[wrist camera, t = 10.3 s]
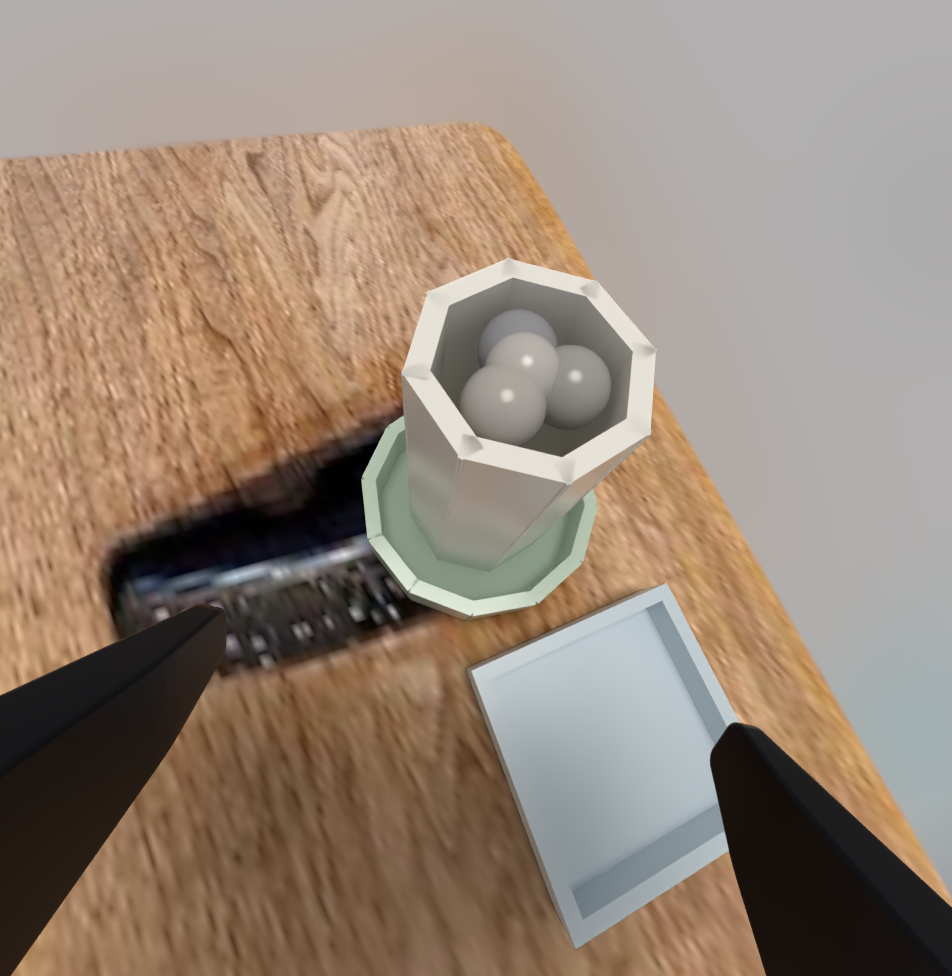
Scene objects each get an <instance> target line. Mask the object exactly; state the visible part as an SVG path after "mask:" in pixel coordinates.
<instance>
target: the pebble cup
mask: <svg viewBox="0 0 952 976" xmlns="http://www.w3.org/2000/svg"><path fill="white" fill-rule="evenodd" d="M656 352H657V350H656V348H655V347H653V346H652V345H651V343H650V342H649V341H648V340H647V339H646V337H645V336H644V335H643V334H642V333H641V332H640V331H639V329H638V328H637V327H636V326H635V325H634V324H633V322H632V321H631V320H630V319H629V318H628V317H627V315H626V314H625V313H624V312H623V311H622V310H621V309H620V307H619V306H618V305H617V304H616V303H615V302H614V300H613V299H612V298H611V297H610V296H609V295H608V293H607V292H606V291H605V290H604V289H603V288H602V287H601V285H600V284H599V282H597V281H596V280H595V281H593V280H589V279H585V278H582V277H578V276H574V275H570V274H566V273H562V272H558V271H554V270H550V269H547V268H543V267H539V266H535V265H531V264H527V263H523V262H519V261H516V260H512V259H510V258H506V259H505V260H503V261H501V262H498V263H496V264H493V265H491V266H489V267H486V268H484V269H482V270H479V271H477V272H474V273H472V274H470V275H467V276H465V277H462V278H460V279H458V280H455V281H453V282H450V283H448V284H446V285H443V286H441V287H439V288H436V289H434V290H431V291H430V290H428V292H427V293H426V300H425V303H424V306H423V309H422V312H421V315H420V319H419V322H418V325H417V328H416V331H415V334H414V338H413V341H412V344H411V347H410V350H409V353H408V357H407V360H406V363H405V366H404V369H403V370H402V371H401V378H402V393H403V408H404V423H405V438H406V453H407V468H408V483H409V499H410V514H411V518H412V519H413V520H414V522H415V524H416V525H417V527H418V528H419V530H420V532H421V533H422V535H423V536H424V538H425V540H426V541H427V543H428V544H429V546H430V548H431V549H432V551H433V552H434V554H435V556H436V557H437V560H439V561H444V562H448V563H453V564H457V565H462V566H466V567H470V568H475V569H479V570H484V571H488V572H491V571H492V570H493V569H495V568H496V567H498V566H499V565H501V564H502V563H504V562H505V561H507V560H508V559H510V558H512V557H513V556H515V555H516V554H518V553H519V552H521V551H522V550H524V549H525V548H527V547H528V546H531V545H532V544H533V543H535V542H536V541H537V540H538V539H539V538H540V537H541V536H542V535H543V534H544V533H545V532H546V531H548V530H549V529H550V528H551V527H552V526H553V525H554V524H555V523H556V522H557V521H558V520H559V519H560V518H562V517H563V516H564V515H565V514H566V513H567V512H568V511H569V510H570V509H571V508H572V507H573V506H575V505H576V504H577V503H578V502H579V501H580V500H581V499H582V498H583V497H584V496H585V495H586V494H587V493H589V492H590V491H591V490H592V489H593V488H594V487H595V486H596V485H597V484H598V483H599V482H600V481H602V480H603V479H604V478H605V477H606V476H607V475H608V474H609V473H610V472H611V471H612V470H613V469H615V468H616V467H617V466H618V465H619V464H620V463H621V462H622V461H623V460H624V459H625V458H626V457H627V456H629V455H630V454H631V453H632V452H633V451H634V450H635V449H636V448H637V447H638V446H639V445H640V444H642V443H643V442H644V441H645V440H646V439H647V438H648V437H649V436H650V434H651V433H652V432H651V431H650V429H651V414H652V399H653V385H654V370H655V355H656Z"/></svg>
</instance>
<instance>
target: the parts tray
mask: <svg viewBox="0 0 952 976" xmlns="http://www.w3.org/2000/svg"><path fill="white" fill-rule="evenodd" d="M465 669H466V671H467V674H468V677H469V680H470V682H471V685H472V688H473V690H474V693H475V696H476V698H477V701H478V704H479V706H480V709H481V712H482V715H483V717H484V720H485V723H486V725H487V728H488V731H489V733H490V736H491V739H492V741H493V744H494V747H495V750H496V752H497V755H498V758H499V760H500V763H501V766H502V768H503V771H504V774H505V776H506V779H507V782H508V785H509V787H510V790H511V793H512V795H513V798H514V801H515V803H516V806H517V809H518V812H519V814H520V817H521V820H522V822H523V825H524V828H525V830H526V833H527V836H528V838H529V841H530V844H531V847H532V849H533V852H534V855H535V857H536V860H537V863H538V865H539V868H540V871H541V873H542V876H543V879H544V882H545V884H546V887H547V890H548V892H549V895H550V898H551V900H552V903H553V906H554V908H555V911H556V913H557V915H558V917H559V918H560V920H561V922H562V924H563V926H564V928H565V930H566V932H567V934H568V936H569V938H570V940H571V942H572V943H573V945H574V947H575V949H577V948H579V947H580V946H582V945H584V944H585V943H587V942H588V941H590V940H591V939H593V938H594V937H596V936H597V935H599V934H601V933H602V932H604V931H605V930H607V929H608V928H610V927H611V926H613V925H614V924H616V923H618V922H619V921H621V920H622V919H624V918H625V917H627V916H628V915H630V914H631V913H633V912H635V911H636V910H638V909H639V908H641V907H642V906H644V905H645V904H647V903H648V902H650V901H652V900H653V899H655V898H656V897H658V896H659V895H661V894H662V893H664V892H665V891H667V890H669V889H670V888H672V887H673V886H675V885H676V884H678V883H679V882H681V881H682V880H684V879H686V878H687V877H689V876H690V875H692V874H693V873H695V872H696V871H698V870H699V869H701V868H703V867H704V866H706V865H707V864H709V863H710V862H712V861H713V860H715V859H716V858H718V857H720V856H721V855H723V854H724V853H726V852H727V851H729V849H728V845H727V840H726V836H725V831H724V827H723V822H722V817H721V813H720V808H719V804H718V799H717V795H716V790H715V786H714V781H713V777H712V772H711V767H710V754H711V750H712V749H713V747H714V746H715V744H716V743H717V741H718V740H719V738H720V737H721V735H722V734H723V732H724V731H725V729H726V728H727V726H728V725H729V724H731V723H733V722H738V723H740V722H739V720H738V718H737V717H736V715H735V713H734V711H733V709H732V707H731V705H730V703H729V701H728V699H727V697H726V696H725V694H724V692H723V690H722V688H721V686H720V684H719V682H718V680H717V678H716V676H715V675H714V673H713V671H712V669H711V667H710V665H709V663H708V661H707V659H706V657H705V655H704V653H703V652H702V650H701V648H700V646H699V644H698V642H697V640H696V638H695V636H694V634H693V632H692V631H691V629H690V627H689V625H688V623H687V621H686V619H685V617H684V615H683V613H682V611H681V610H680V608H679V606H678V604H677V602H676V600H675V598H674V596H673V594H672V592H671V590H670V589H669V587H668V585H667V583H664V584H661V585H657V586H653V587H649V588H646V589H642V590H639V591H637V592H635V593H633V594H630V595H628V596H626V597H624V598H621V599H619V600H617V601H615V602H612V603H610V604H608V605H606V606H604V607H601V608H599V609H597V610H595V611H592V612H590V613H588V614H586V615H583V616H581V617H579V618H577V619H574V620H572V621H570V622H568V623H566V624H563V625H561V626H559V627H557V628H554V629H552V630H550V631H548V632H545V633H543V634H541V635H539V636H536V637H534V638H532V639H530V640H527V641H525V642H523V643H521V644H519V645H516V646H514V647H512V648H510V649H507V650H505V651H503V652H501V653H498V654H496V655H494V656H492V657H489V658H487V659H485V660H483V661H481V662H478V663H476V664H474V665H472V666H469V667H467V668H465Z"/></svg>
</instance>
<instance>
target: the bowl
mask: <svg viewBox="0 0 952 976" xmlns="http://www.w3.org/2000/svg"><path fill="white" fill-rule="evenodd" d="M362 489H363V499H364V508H365V518H366V528H367V537H368V541H369V543H370V545H371V547H372V549H373V551H374V554H375V555H376V557H377V558H378V559H379V560H380V562H381V563H382V564H383V566H384V567H385V568H386V569H387V571H388V572H389V573H390V575H391V576H392V577H393V579H394V580H395V581H396V582H397V584H398V585H399V586H400V588H401V589H402V590H403V591H404V593H405V594H406V595H407V597H408V598H409V599H411V600H412V601H415V602H417V603H420V604H423V605H425V606H428V607H430V608H433V609H436V610H438V611H441V612H444V613H446V614H449V615H451V616H454V617H457V618H459V619H462V620H466V621H467V620H472V619H477V618H483V617H488V616H494V615H499V614H505V613H510V612H516V611H521V610H524V609H526V608H529V607H532V606H534V605H536V604H538V603H540V602H541V601H542V600H543V599H544V598H545V597H546V596H547V595H548V594H549V593H550V592H552V591H553V590H554V589H555V588H556V587H557V586H558V585H559V584H560V583H561V582H562V581H563V580H565V579H566V578H567V577H568V576H569V575H570V574H571V573H572V572H573V571H574V570H575V569H577V568H578V567H579V566H580V565H581V564H582V562H583V560H584V556H585V553H586V549H587V545H588V541H589V538H590V534H591V530H592V526H593V523H594V519H595V515H596V511H597V508H598V507H596V506H598V505H597V502H596V498H595V494H594V491H593V489H592V490H591V491H590V492H589V493H587V494H586V495H585V496H584V497H583V498H582V499H581V500H580V501H579V502H578V503H577V504H576V505H575V506H573V507H572V508H571V509H570V510H569V511H568V512H567V513H566V514H565V515H564V516H563V517H562V518H560V519H559V520H558V521H557V522H556V523H555V524H554V525H553V526H552V527H551V528H550V529H549V530H548V531H546V532H545V533H544V534H543V535H542V536H541V537H540V538H539V539H538V540H537V541H536V542H535V543H533V544H532V545H531V546H528V547H527V548H525V549H524V550H522V551H521V552H519V553H518V554H516V555H515V556H513V557H512V558H510V559H508V560H507V561H505V562H504V563H502V564H501V565H499V566H498V567H496V568H495V569H493V570H492V571H491V572H488V571H484V570H479V569H475V568H470V567H466V566H462V565H457V564H453V563H448V562H444V561H439V560H437V557H436V556H435V554H434V552H433V551H432V549H431V548H430V546H429V544H428V543H427V541H426V540H425V538H424V536H423V535H422V533H421V532H420V530H419V528H418V527H417V525H416V524H415V522H414V520H413V519H412V518H411V514H410V499H409V483H408V468H407V453H406V438H405V423H404V416H402V417H401V418H399V419H398V420H396V421H395V422H393V423H392V424H390V425H389V426H388V427H387V428H386V430H385V432H384V434H383V436H382V438H381V440H380V442H379V444H378V446H377V448H376V450H375V452H374V454H373V456H372V458H371V460H370V462H369V464H368V466H367V468H366V470H365V472H364V474H363V476H362Z"/></svg>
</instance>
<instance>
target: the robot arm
mask: <svg viewBox="0 0 952 976" xmlns="http://www.w3.org/2000/svg"><path fill="white" fill-rule="evenodd" d="M225 649H226V612H225V610H224V609H222V608H219V607H214V606H210V605H205V604H199V605H195V606H193V607H191V608H189V609H186V610H184V611H182V612H180V613H178V614H176V615H173V616H171V617H169V618H167V619H165V620H163V621H160V622H158V623H156V624H154V625H152V626H150V627H147V628H145V629H143V630H141V631H139V632H137V633H134V634H132V635H130V636H128V637H126V638H124V639H121V640H119V641H117V642H115V643H113V644H111V645H108V646H106V647H104V648H102V649H100V650H98V651H95V652H93V653H91V654H89V655H87V656H85V657H82V658H80V659H78V660H76V661H74V662H72V663H69V664H67V665H65V666H63V667H61V668H59V669H56V670H54V671H52V672H50V673H48V674H46V675H44V676H41V677H39V678H37V679H35V680H33V681H31V682H28V683H26V684H24V685H22V686H20V687H18V688H15V689H13V690H11V691H9V692H7V693H5V694H2V695H0V976H11V975H12V973H13V972H14V970H15V969H16V967H17V966H18V965H19V963H20V962H21V960H22V959H23V958H24V956H25V955H26V953H27V952H28V950H29V949H30V948H31V946H32V945H33V943H34V942H35V940H36V939H37V938H38V936H39V935H40V933H41V932H42V931H43V929H44V928H45V926H46V925H47V923H48V922H49V921H50V919H51V918H52V916H53V915H54V913H55V912H56V911H57V909H58V908H59V906H60V905H61V904H62V902H63V901H64V899H65V898H66V896H67V895H68V894H69V892H70V891H71V889H72V888H73V886H74V885H75V884H76V882H77V881H78V879H79V878H80V877H81V875H82V874H83V872H84V871H85V869H86V868H87V867H88V865H89V864H90V862H91V861H92V859H93V858H94V857H95V855H96V854H97V852H98V851H99V850H100V848H101V847H102V845H103V844H104V842H105V841H106V840H107V838H108V837H109V835H110V834H111V833H112V831H113V830H114V828H115V827H116V825H117V824H118V823H119V821H120V820H121V818H122V817H123V815H124V814H125V813H126V811H127V810H128V808H129V807H130V806H131V804H132V803H133V801H134V800H135V798H136V797H137V796H138V794H139V793H140V791H141V790H142V788H143V787H144V786H145V784H146V783H147V781H148V780H149V779H150V777H151V776H152V774H153V773H154V771H155V770H156V769H157V767H158V766H159V764H160V763H161V761H162V760H163V758H164V757H165V755H166V754H167V752H168V751H169V749H170V748H171V746H172V745H173V743H174V741H175V740H176V738H177V736H178V735H179V733H180V731H181V729H182V728H183V726H184V724H185V722H186V721H187V719H188V717H189V715H190V714H191V712H192V710H193V708H194V707H195V705H196V703H197V701H198V700H199V698H200V696H201V694H202V693H203V691H204V689H205V687H206V686H207V684H208V682H209V680H210V679H211V677H212V675H213V673H214V672H215V670H216V668H217V666H218V665H219V663H220V661H221V659H222V657H223V655H224V652H225ZM710 767H711V772H712V777H713V781H714V786H715V790H716V795H717V799H718V804H719V808H720V813H721V817H722V822H723V827H724V831H725V836H726V840H727V845H728V849H729V853H730V857H731V861H732V865H733V869H734V872H735V876H736V879H737V883H738V886H739V889H740V892H741V896H742V899H743V902H744V905H745V909H746V912H747V915H748V918H749V922H750V925H751V928H752V931H753V935H754V938H755V941H756V944H757V948H758V951H759V954H760V957H761V961H762V964H763V967H764V970H765V973H766V976H952V907H951V906H950V905H949V904H948V903H946V902H945V901H944V900H943V899H942V898H941V897H940V896H939V895H938V894H937V893H936V892H935V891H934V890H933V889H931V888H930V887H929V886H928V885H927V884H926V883H925V882H924V881H923V880H922V879H921V878H920V877H919V876H917V875H916V874H915V873H914V872H913V871H912V870H911V869H910V868H909V867H908V866H907V865H906V864H905V863H903V862H902V861H901V860H900V859H899V858H898V857H897V856H896V855H895V854H894V853H893V852H892V851H891V850H890V849H888V848H887V847H886V846H885V845H884V844H883V843H882V842H881V841H880V840H879V839H878V838H877V837H876V836H874V835H873V834H872V833H871V832H870V831H869V830H868V829H867V828H866V827H865V826H864V825H863V824H862V823H860V822H859V821H858V820H857V819H856V818H855V817H854V816H853V815H852V814H851V813H850V812H849V811H848V810H847V809H845V808H844V807H843V806H842V805H841V804H840V803H839V802H838V801H837V800H836V799H835V798H834V797H833V796H831V795H830V794H829V793H828V792H827V791H826V790H825V789H824V788H823V787H822V786H821V785H820V784H819V783H817V782H816V781H815V780H814V779H813V778H812V777H811V776H810V775H809V774H808V773H807V772H806V771H805V770H804V769H802V768H801V767H800V766H799V765H798V764H797V763H796V762H795V761H794V760H793V759H792V758H791V757H790V756H788V755H787V754H786V753H785V752H784V751H783V750H782V749H781V748H780V747H779V746H778V745H777V744H776V743H775V742H773V741H772V740H771V739H770V738H769V737H768V736H767V735H766V734H765V733H764V732H763V731H762V730H760V729H759V728H757V727H755V726H752V725H747V724H743V723H738V722H733V723H731V724H729V725H728V726H727V728H726V729H725V731H724V732H723V734H722V735H721V737H720V738H719V740H718V741H717V743H716V744H715V746H714V747H713V749H712V750H711V754H710Z"/></svg>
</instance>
